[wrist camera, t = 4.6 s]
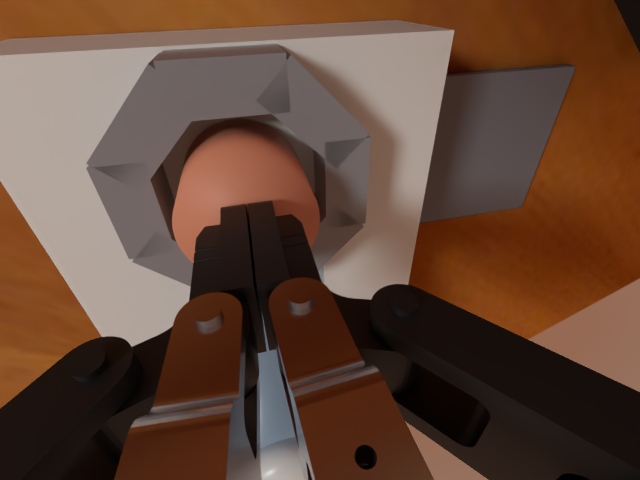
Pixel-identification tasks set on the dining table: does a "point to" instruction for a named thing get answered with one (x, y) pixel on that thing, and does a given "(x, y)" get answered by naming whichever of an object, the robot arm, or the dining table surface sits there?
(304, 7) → the dining table surface
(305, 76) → the housing
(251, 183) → the brown egg
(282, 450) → the cartridge
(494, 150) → the mat
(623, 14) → the cleaning product box
